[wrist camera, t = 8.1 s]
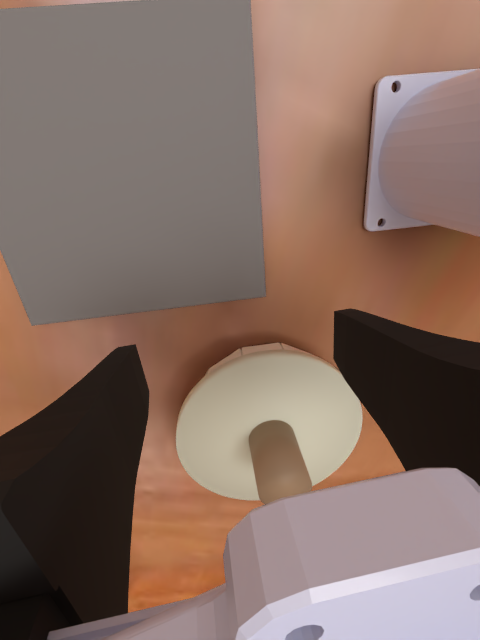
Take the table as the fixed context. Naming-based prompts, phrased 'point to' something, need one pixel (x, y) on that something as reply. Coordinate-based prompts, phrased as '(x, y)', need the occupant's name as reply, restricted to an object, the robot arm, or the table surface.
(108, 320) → the table surface
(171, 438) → the table surface
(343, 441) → the lid
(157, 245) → the mat
